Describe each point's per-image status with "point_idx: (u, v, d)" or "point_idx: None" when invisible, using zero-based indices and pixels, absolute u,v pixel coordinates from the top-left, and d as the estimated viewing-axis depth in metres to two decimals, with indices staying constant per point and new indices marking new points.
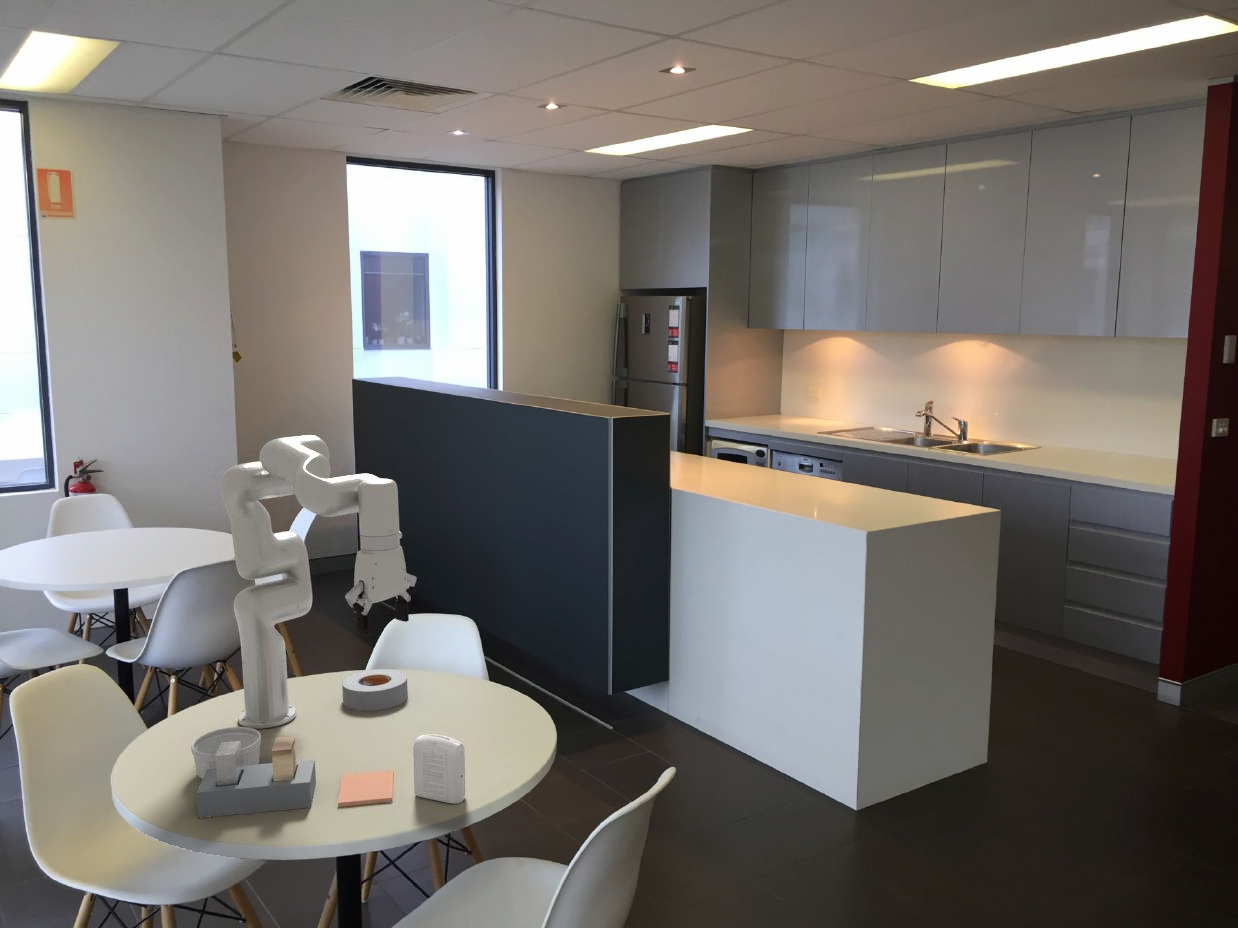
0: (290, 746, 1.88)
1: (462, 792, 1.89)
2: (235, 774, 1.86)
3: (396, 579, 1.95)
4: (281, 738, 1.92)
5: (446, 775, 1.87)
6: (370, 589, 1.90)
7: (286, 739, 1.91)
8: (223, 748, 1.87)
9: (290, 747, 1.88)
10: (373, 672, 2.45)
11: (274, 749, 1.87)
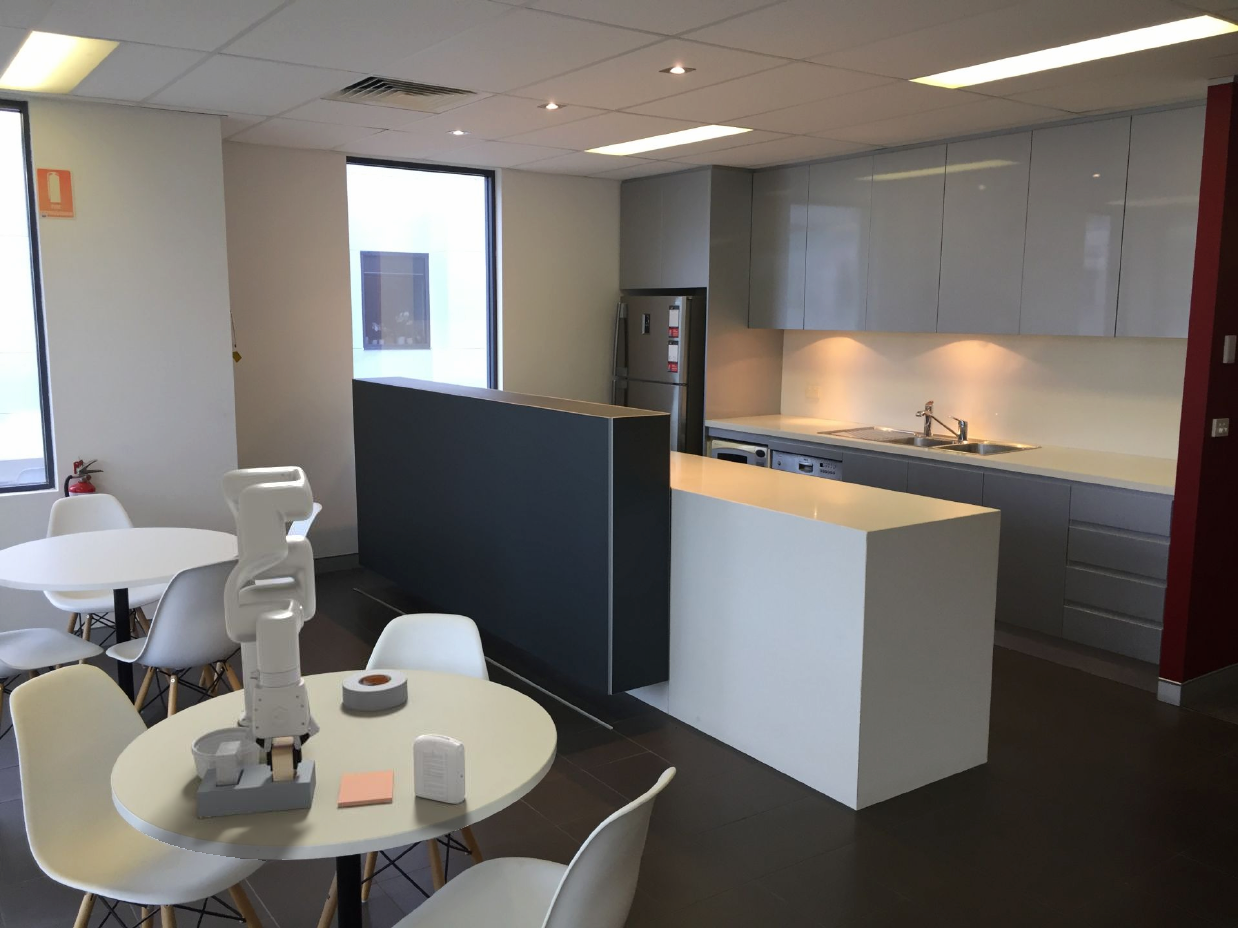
0: (290, 746, 1.88)
1: (462, 792, 1.89)
2: (235, 774, 1.86)
3: None
4: (281, 738, 1.92)
5: (446, 775, 1.87)
6: None
7: (286, 739, 1.91)
8: (223, 748, 1.87)
9: (290, 747, 1.88)
10: (374, 672, 2.45)
11: (274, 749, 1.87)
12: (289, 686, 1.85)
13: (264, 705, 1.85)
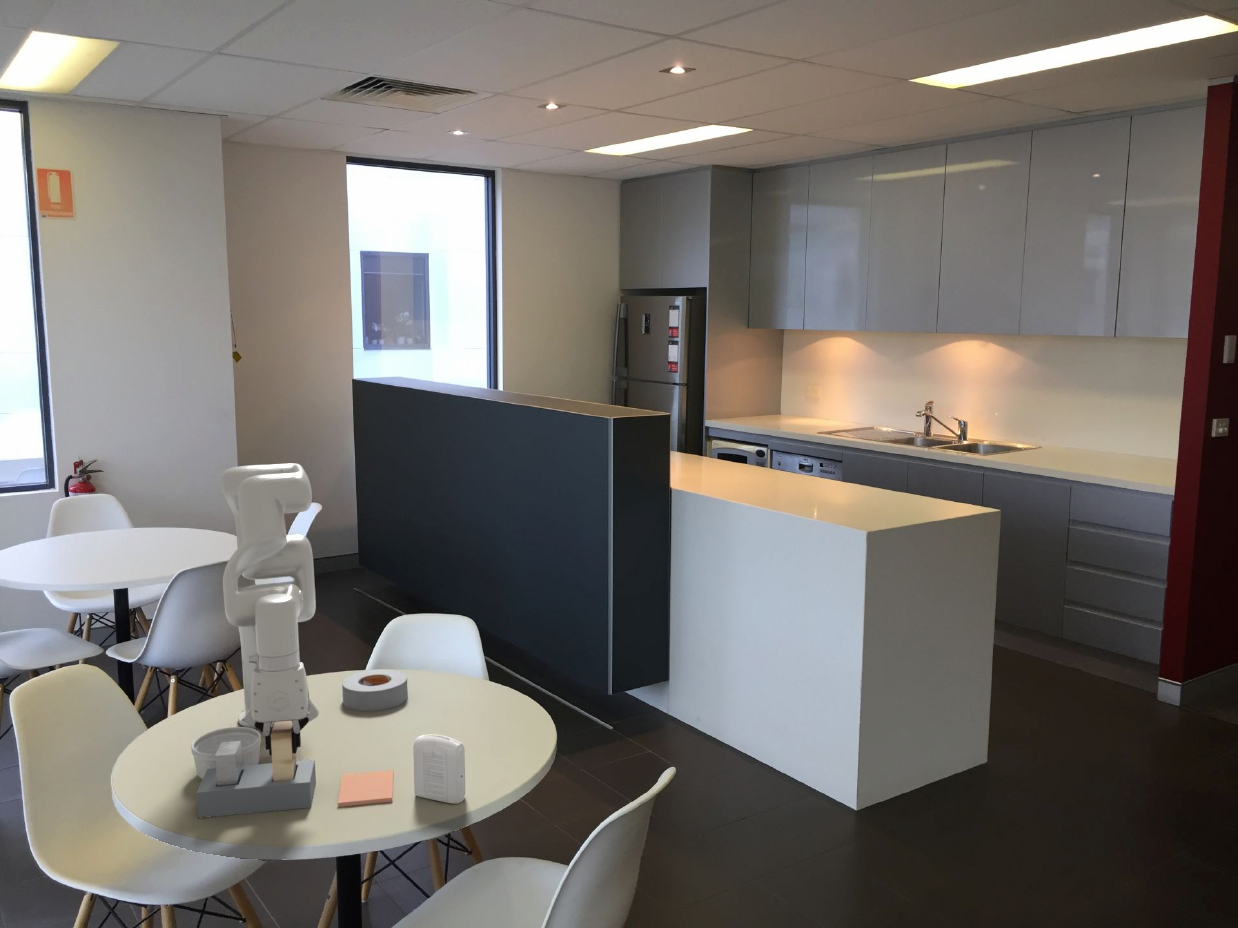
0: (289, 730, 1.88)
1: (462, 792, 1.89)
2: (235, 774, 1.86)
3: None
4: (280, 722, 1.92)
5: (446, 775, 1.87)
6: None
7: (285, 723, 1.91)
8: (223, 748, 1.87)
9: (289, 731, 1.87)
10: (374, 672, 2.45)
11: (273, 733, 1.87)
12: (288, 670, 1.85)
13: (263, 689, 1.85)
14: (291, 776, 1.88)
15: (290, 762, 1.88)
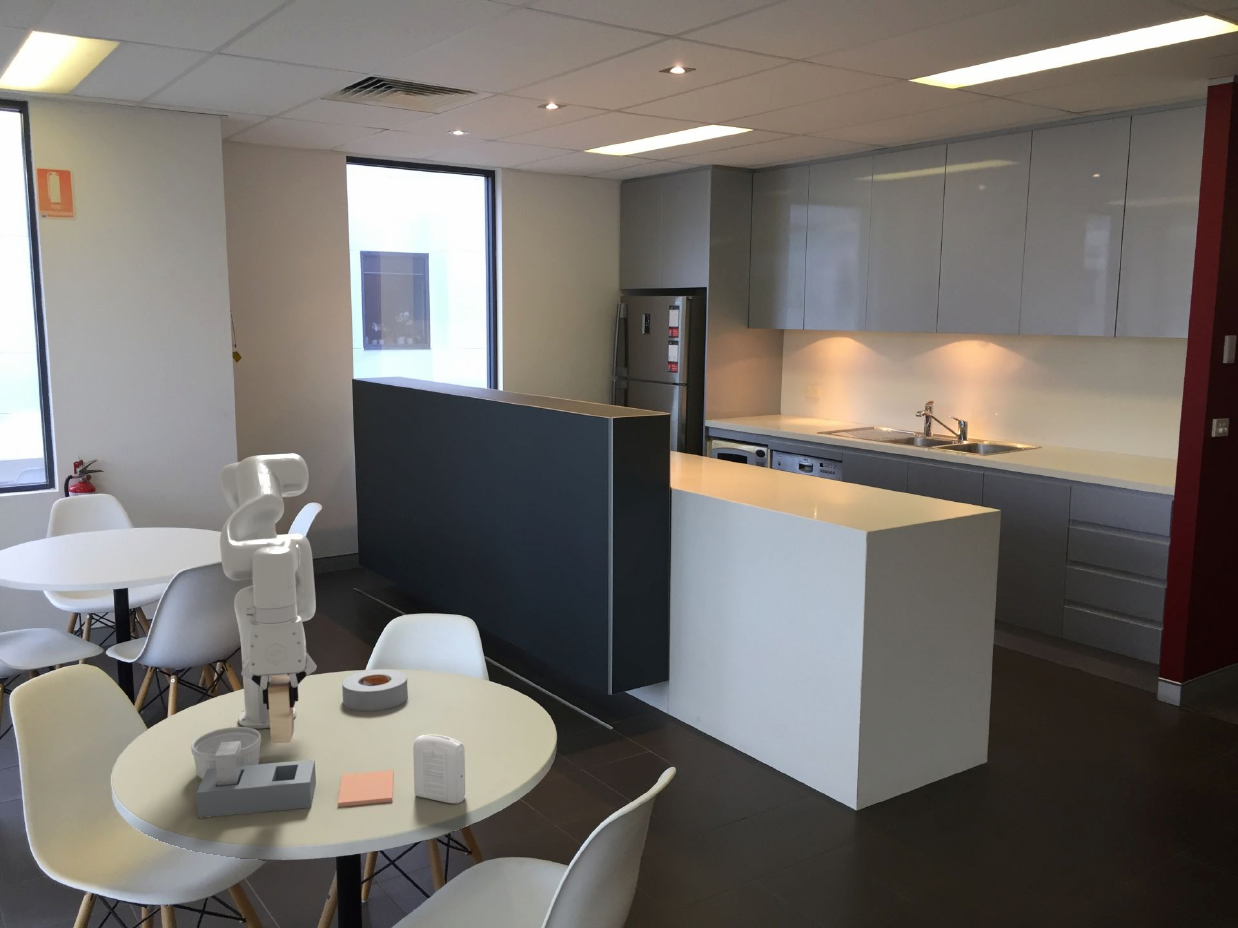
0: (286, 684, 1.86)
1: (462, 792, 1.89)
2: (235, 774, 1.86)
3: None
4: (277, 677, 1.90)
5: (446, 775, 1.87)
6: None
7: (282, 678, 1.90)
8: (223, 748, 1.87)
9: (286, 685, 1.86)
10: (374, 672, 2.45)
11: (270, 686, 1.85)
12: (285, 622, 1.83)
13: (260, 641, 1.83)
14: (288, 730, 1.87)
15: (287, 716, 1.86)
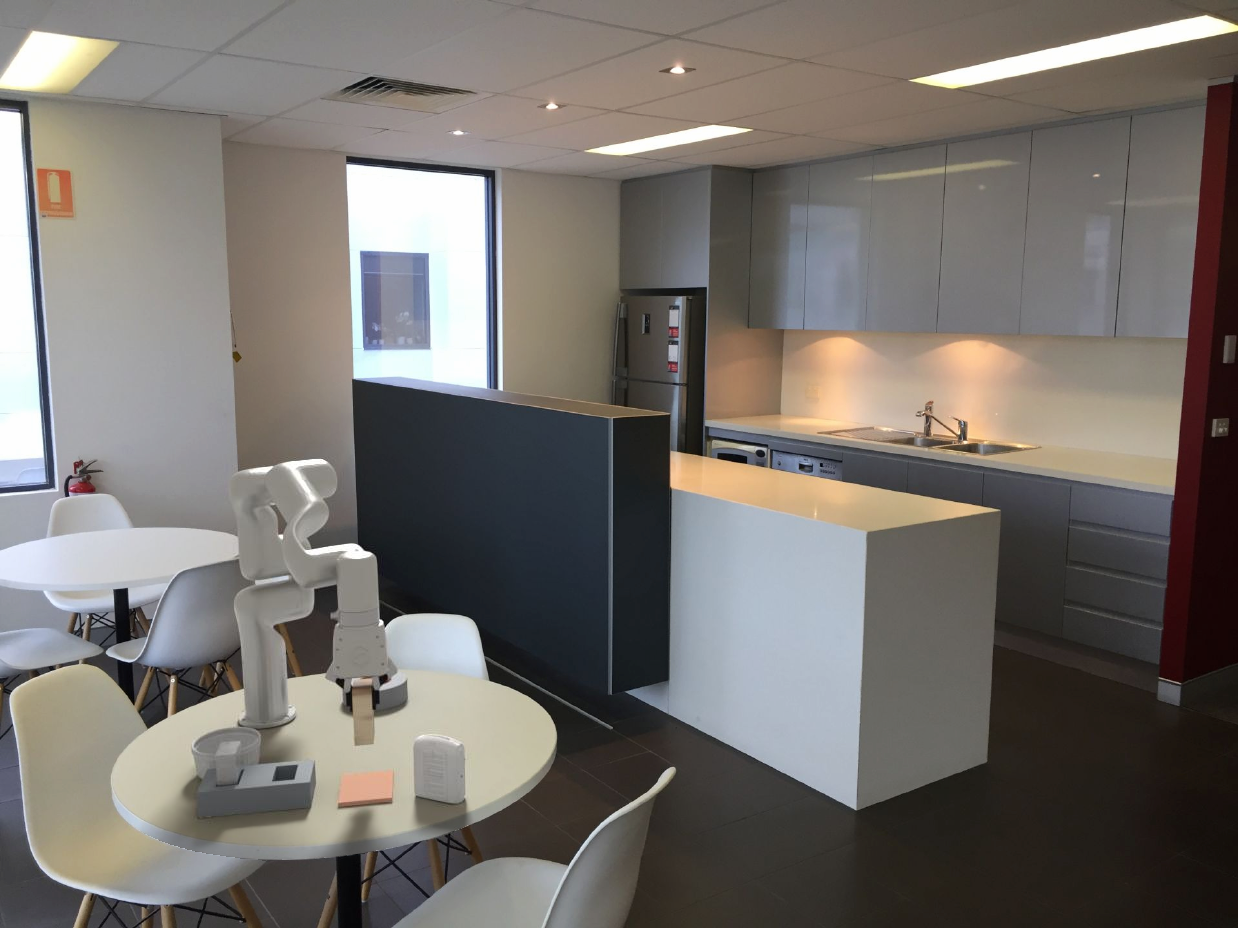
0: (369, 686, 1.89)
1: (462, 792, 1.89)
2: (235, 774, 1.86)
3: None
4: (359, 680, 1.93)
5: (446, 775, 1.87)
6: None
7: (364, 681, 1.93)
8: (223, 748, 1.87)
9: (370, 687, 1.89)
10: None
11: (354, 689, 1.88)
12: (369, 626, 1.87)
13: (345, 645, 1.86)
14: (372, 732, 1.89)
15: (371, 718, 1.89)
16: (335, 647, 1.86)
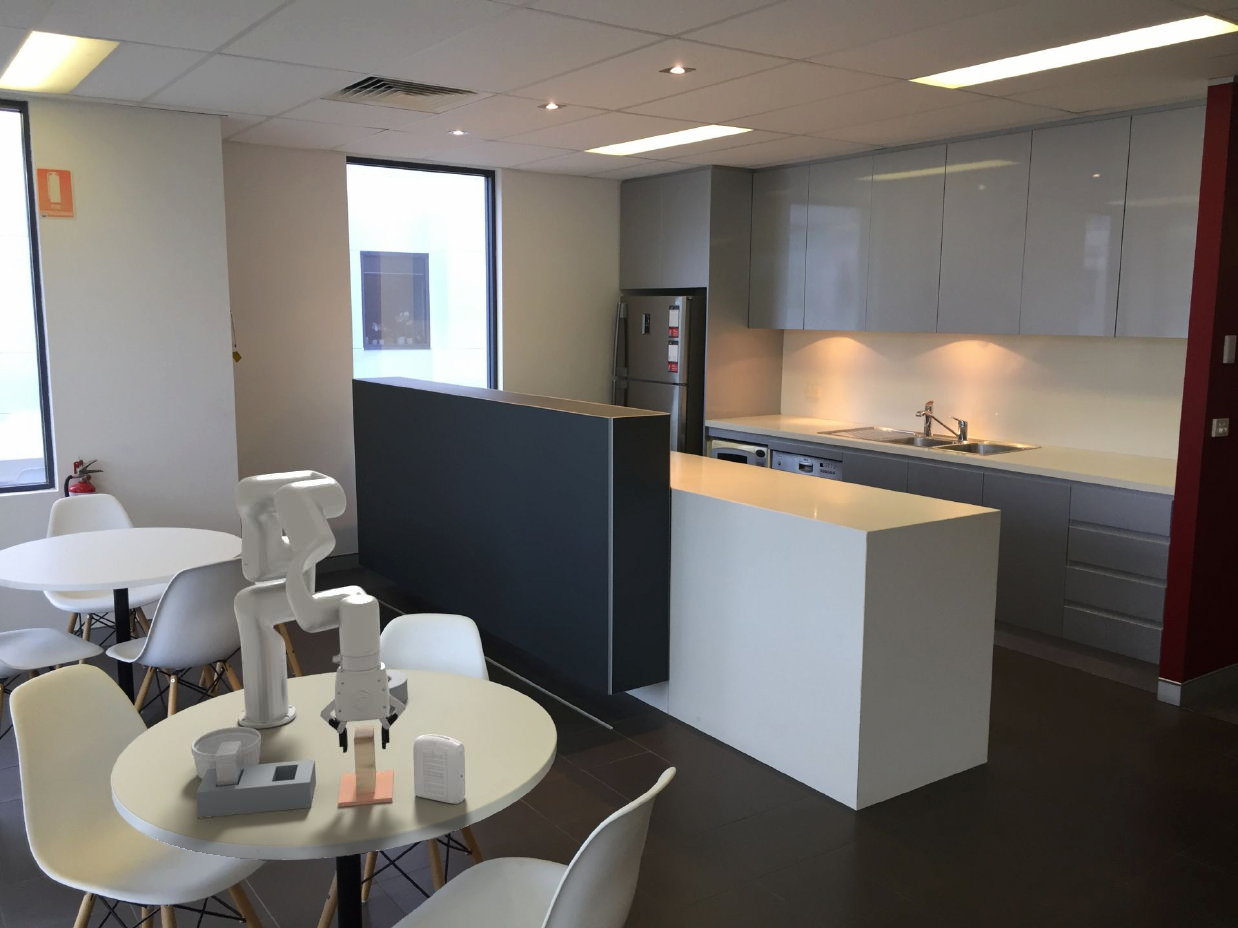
0: (371, 735, 1.91)
1: (462, 792, 1.89)
2: (235, 774, 1.86)
3: None
4: (361, 727, 1.95)
5: (446, 775, 1.87)
6: None
7: (366, 728, 1.94)
8: (223, 748, 1.87)
9: (371, 736, 1.91)
10: None
11: (356, 738, 1.90)
12: (371, 670, 1.88)
13: (347, 689, 1.88)
14: (373, 780, 1.91)
15: (372, 766, 1.91)
16: (337, 691, 1.88)
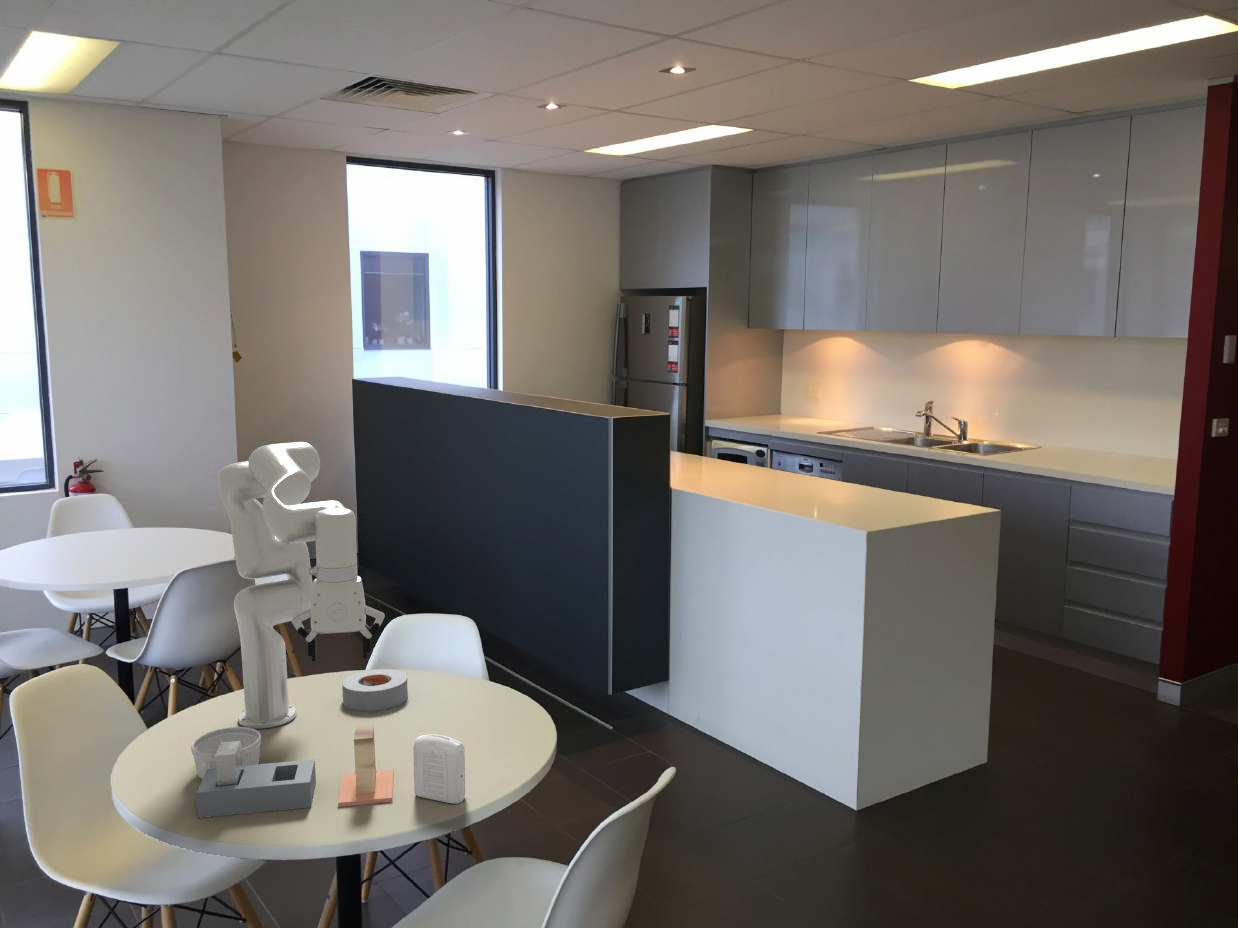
0: (371, 735, 1.91)
1: (462, 792, 1.89)
2: (235, 774, 1.86)
3: None
4: (361, 727, 1.95)
5: (446, 775, 1.87)
6: None
7: (366, 728, 1.94)
8: (223, 748, 1.87)
9: (371, 736, 1.91)
10: (374, 672, 2.45)
11: (356, 738, 1.90)
12: (347, 582, 1.88)
13: (322, 600, 1.88)
14: (373, 780, 1.91)
15: (372, 766, 1.91)
16: (313, 602, 1.88)
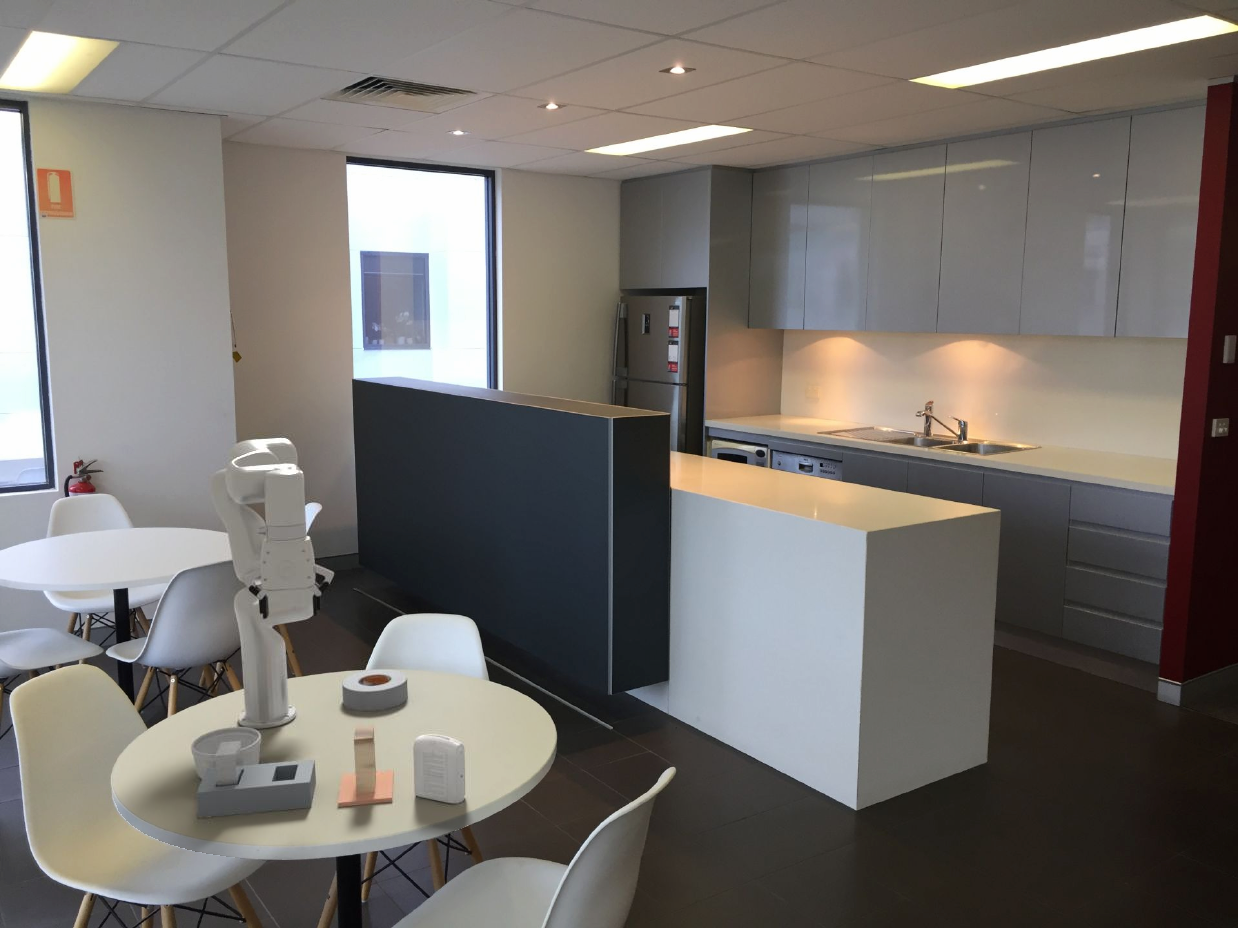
0: (371, 735, 1.91)
1: (462, 792, 1.89)
2: (235, 774, 1.86)
3: None
4: (361, 727, 1.95)
5: (446, 775, 1.87)
6: None
7: (366, 728, 1.94)
8: (223, 748, 1.87)
9: (371, 736, 1.91)
10: (374, 672, 2.45)
11: (356, 738, 1.90)
12: (296, 540, 1.94)
13: (272, 558, 1.94)
14: (373, 780, 1.91)
15: (372, 766, 1.91)
16: (262, 560, 1.94)
